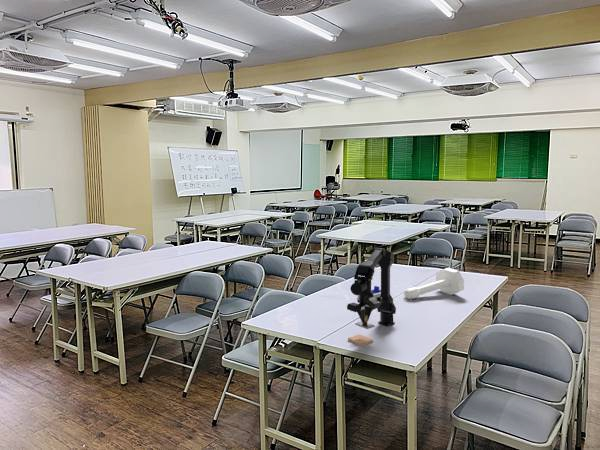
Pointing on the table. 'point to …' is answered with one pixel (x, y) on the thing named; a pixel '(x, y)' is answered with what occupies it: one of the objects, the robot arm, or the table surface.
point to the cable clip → (375, 289)
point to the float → (365, 323)
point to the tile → (360, 340)
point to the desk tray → (375, 293)
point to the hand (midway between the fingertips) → (364, 321)
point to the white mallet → (439, 284)
